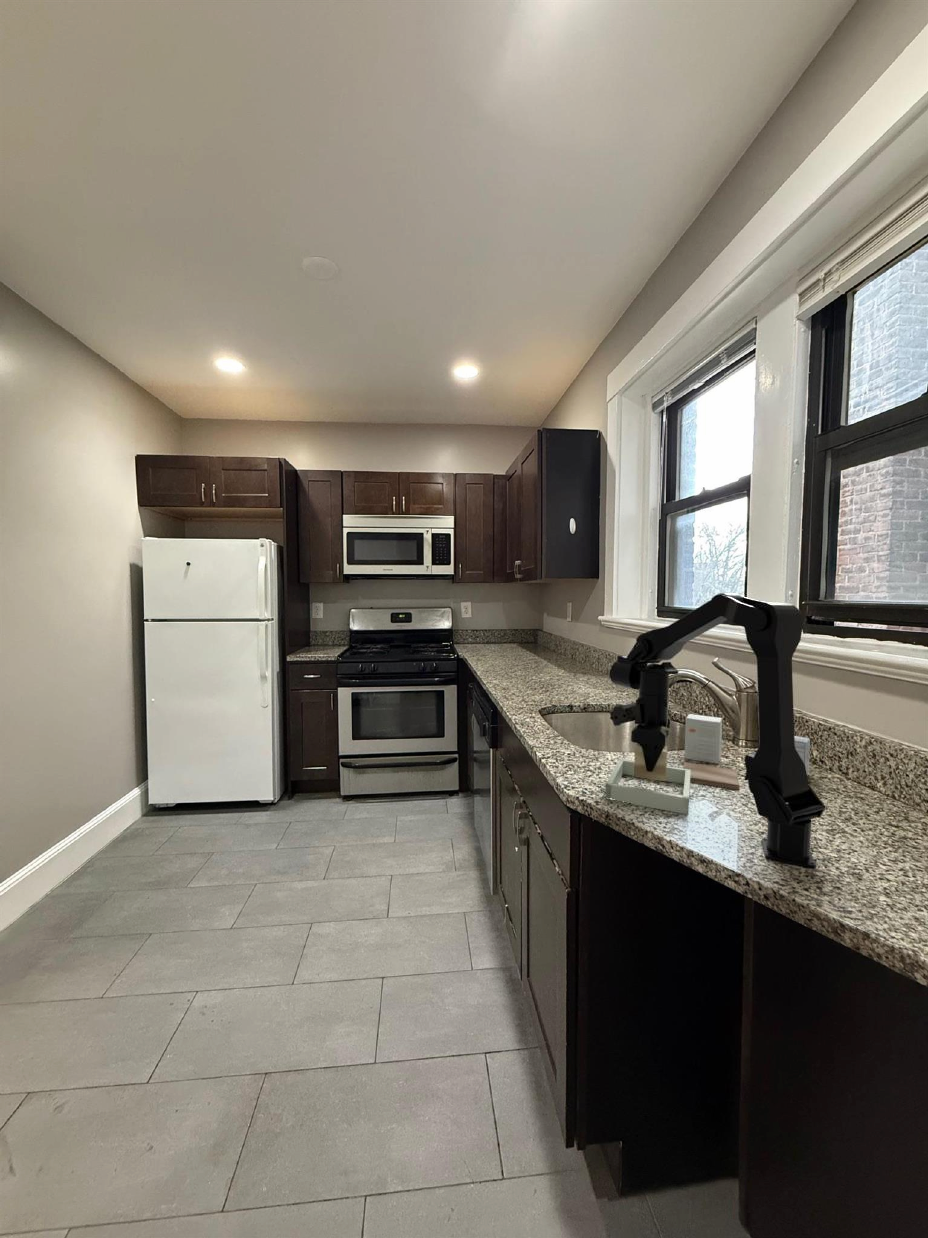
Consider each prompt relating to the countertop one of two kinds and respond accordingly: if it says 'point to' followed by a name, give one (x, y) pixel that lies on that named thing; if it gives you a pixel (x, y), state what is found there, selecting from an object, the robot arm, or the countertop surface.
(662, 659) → the robot arm
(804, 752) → the medicine box
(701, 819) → the countertop surface
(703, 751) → the small box
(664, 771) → the pine block
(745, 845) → the countertop surface
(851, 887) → the countertop surface
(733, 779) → the walnut board
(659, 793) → the sage bin
